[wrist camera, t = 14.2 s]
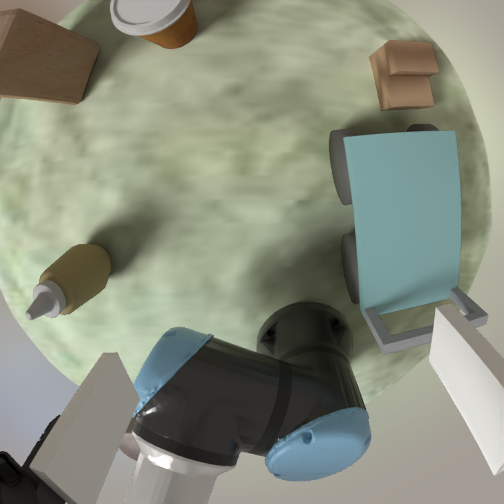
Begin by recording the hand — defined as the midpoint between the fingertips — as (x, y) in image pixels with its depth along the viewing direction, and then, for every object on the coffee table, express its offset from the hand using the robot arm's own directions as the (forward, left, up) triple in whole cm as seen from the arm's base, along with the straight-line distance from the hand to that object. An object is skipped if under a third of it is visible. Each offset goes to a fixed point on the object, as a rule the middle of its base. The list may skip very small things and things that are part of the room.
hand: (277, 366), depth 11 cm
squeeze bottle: (-3, +28, -32) cm, 43 cm away
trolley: (-2, -16, -32) cm, 35 cm away
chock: (+15, -20, -32) cm, 41 cm away
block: (+28, +26, -32) cm, 50 cm away
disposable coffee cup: (+28, +8, -32) cm, 43 cm away
